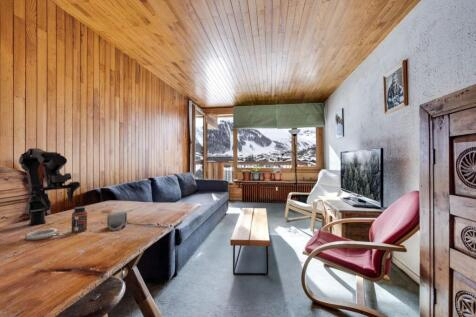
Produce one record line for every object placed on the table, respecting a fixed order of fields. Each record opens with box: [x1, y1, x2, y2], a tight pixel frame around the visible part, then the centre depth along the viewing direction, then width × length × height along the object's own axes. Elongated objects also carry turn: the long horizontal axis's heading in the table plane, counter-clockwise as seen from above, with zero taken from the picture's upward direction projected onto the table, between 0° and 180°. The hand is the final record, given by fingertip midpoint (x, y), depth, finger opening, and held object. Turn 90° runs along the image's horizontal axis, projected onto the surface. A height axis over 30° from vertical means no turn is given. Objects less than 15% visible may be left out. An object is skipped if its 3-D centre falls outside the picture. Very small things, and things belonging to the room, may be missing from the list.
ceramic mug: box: [106, 210, 128, 232], centre depth 107 cm, size 11×8×8 cm
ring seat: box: [24, 228, 60, 241], centre depth 95 cm, size 11×11×2 cm
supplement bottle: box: [71, 206, 88, 234], centre depth 101 cm, size 6×6×11 cm
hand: (59, 204), depth 100 cm, fingers open, 9 cm apart
